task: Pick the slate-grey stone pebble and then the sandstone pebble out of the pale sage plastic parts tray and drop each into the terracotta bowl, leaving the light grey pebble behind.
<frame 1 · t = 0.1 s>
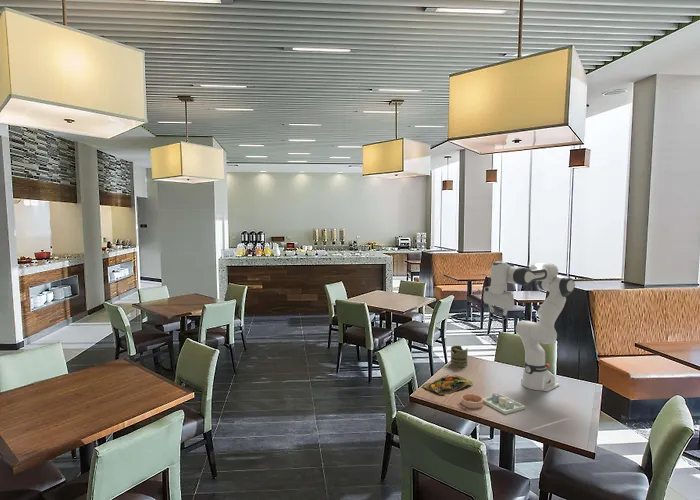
hand: (498, 313, 232), 48 cm above the table, fingers open, 8 cm apart
prepared meal: (447, 387, 249), on the table
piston: (459, 364, 287), on the table
pebble grey: (510, 408, 217), point 1 cm above the table, touching parts tray
pebble sand: (502, 405, 221), point 1 cm above the table, touching parts tray
parts tray: (502, 406, 221), on the table
pebble slate: (495, 401, 226), point 1 cm above the table, touching parts tray
bowl: (472, 404, 224), on the table
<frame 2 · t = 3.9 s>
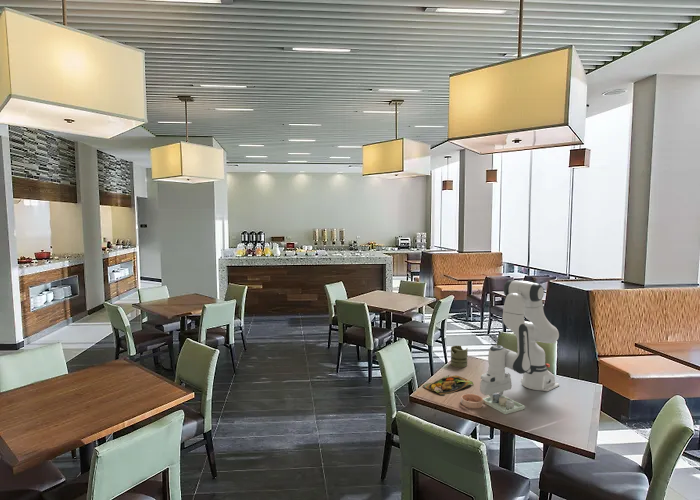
hand: (496, 399, 226), 2 cm above the table, fingers closed on pebble slate, 4 cm apart
pebble slate: (495, 401, 226), point 1 cm above the table, touching gripper, parts tray
when the fingers open (5 cm above the table, at t = 7.6 s): pebble slate drops 3 cm, resting on bowl.
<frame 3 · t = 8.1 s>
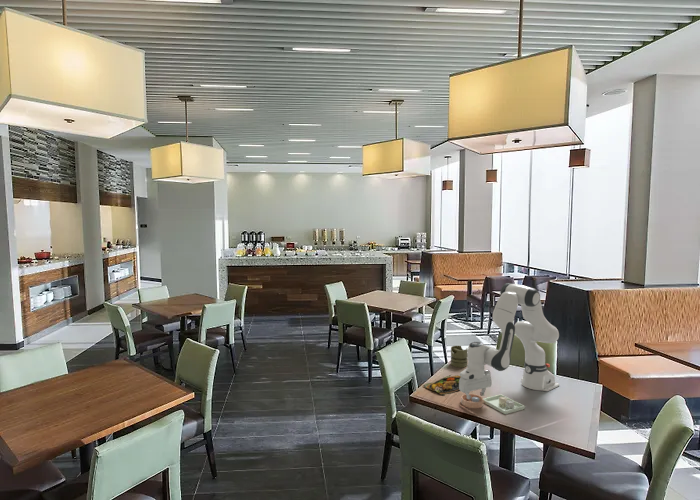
hand: (475, 397, 221), 5 cm above the table, fingers open, 8 cm apart
pebble slate: (475, 405, 221), point 1 cm above the table, touching bowl
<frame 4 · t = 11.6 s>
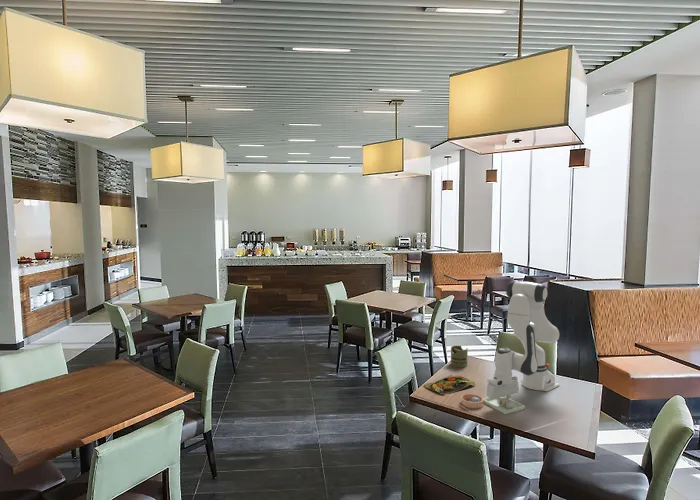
hand: (502, 403, 221), 2 cm above the table, fingers closed on pebble sand, 4 cm apart
pebble sand: (502, 405, 221), point 1 cm above the table, touching gripper, parts tray
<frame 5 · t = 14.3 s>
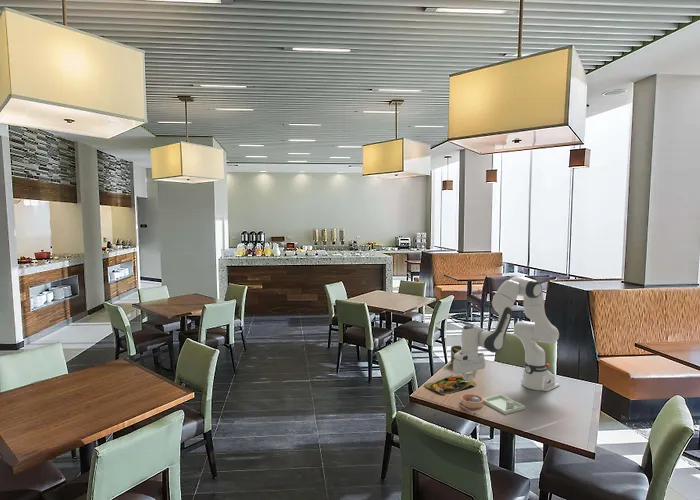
hand: (469, 378, 225), 14 cm above the table, fingers closed on pebble sand, 4 cm apart
pebble sand: (469, 380, 225), point 13 cm above the table, touching gripper
when the fingers open (5 cm above the table, at t = 15.8 s): pebble sand drops 3 cm, resting on bowl.
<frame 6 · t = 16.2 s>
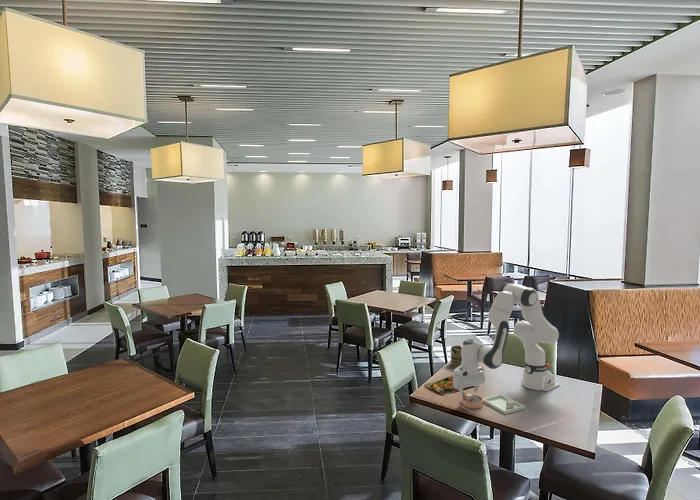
hand: (469, 393, 226), 5 cm above the table, fingers open, 8 cm apart
pebble sand: (469, 401, 226), point 1 cm above the table, touching bowl
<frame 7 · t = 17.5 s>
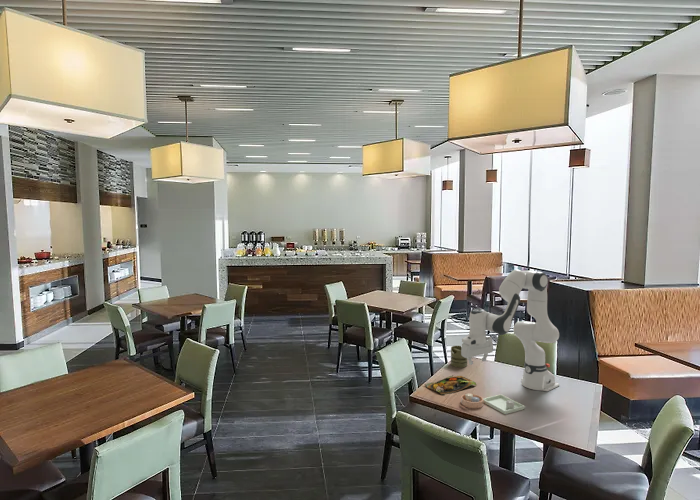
hand: (477, 362, 226), 22 cm above the table, fingers open, 8 cm apart
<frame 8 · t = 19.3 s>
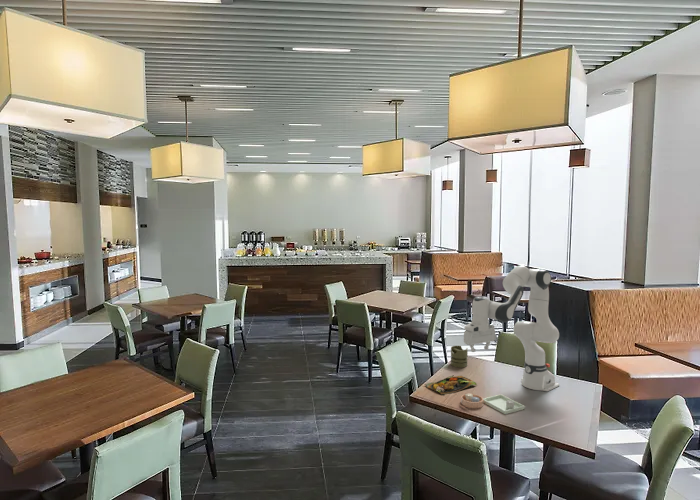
hand: (479, 350, 225), 29 cm above the table, fingers open, 8 cm apart
at the end: pebble slate inside the target area on the bowl (2.5 cm from its centre), point 0.6 cm above the bowl's base; pebble sand inside the target area on the bowl (2.4 cm from its centre), point 0.6 cm above the bowl's base; pebble grey inside the target area on the parts tray (5.0 cm from its centre), point 0.6 cm above the parts tray's base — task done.
